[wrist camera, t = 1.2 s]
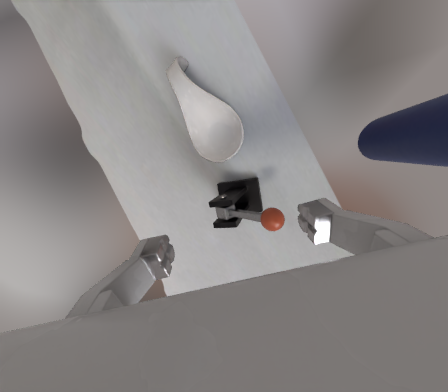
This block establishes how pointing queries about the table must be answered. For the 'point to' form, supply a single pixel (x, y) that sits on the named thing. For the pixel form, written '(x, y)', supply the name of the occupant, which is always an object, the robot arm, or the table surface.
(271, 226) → the power lever
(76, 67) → the table surface
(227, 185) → the switch bracket
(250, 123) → the table surface
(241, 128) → the spoon rest
